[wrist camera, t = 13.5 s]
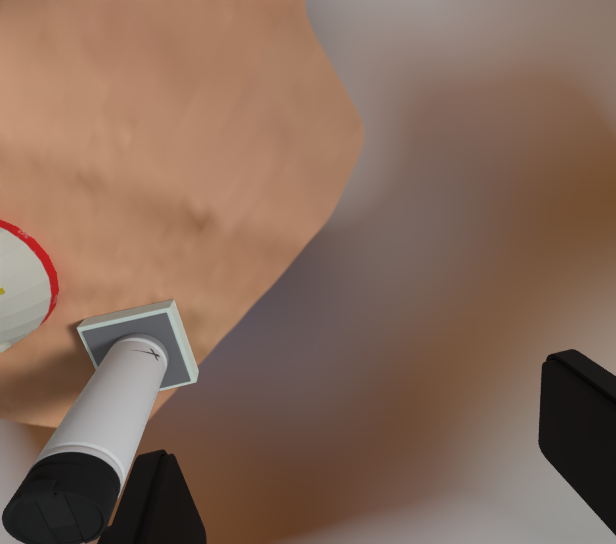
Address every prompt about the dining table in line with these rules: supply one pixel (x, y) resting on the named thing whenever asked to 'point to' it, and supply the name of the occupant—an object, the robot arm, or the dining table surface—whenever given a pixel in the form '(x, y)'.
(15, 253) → the kitchen timer
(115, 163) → the dining table surface
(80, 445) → the travel mug
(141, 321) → the stand
